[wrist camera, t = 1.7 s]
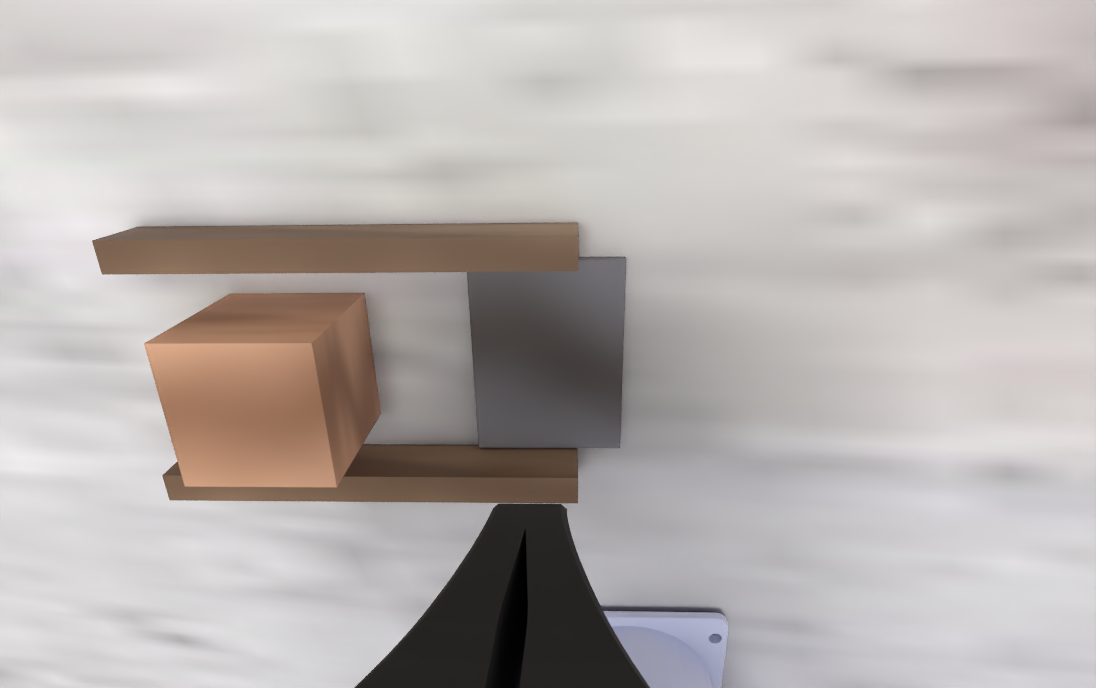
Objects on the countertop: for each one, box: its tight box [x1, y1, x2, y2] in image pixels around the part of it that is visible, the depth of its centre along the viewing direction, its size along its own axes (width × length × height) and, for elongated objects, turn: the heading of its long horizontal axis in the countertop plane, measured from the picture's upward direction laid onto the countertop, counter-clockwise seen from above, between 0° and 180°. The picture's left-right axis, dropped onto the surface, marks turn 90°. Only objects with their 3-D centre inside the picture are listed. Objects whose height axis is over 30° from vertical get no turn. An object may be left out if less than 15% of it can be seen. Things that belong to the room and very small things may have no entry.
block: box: [144, 293, 381, 487], centre depth 19 cm, size 4×4×4 cm
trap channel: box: [92, 223, 626, 503], centre depth 20 cm, size 9×16×2 cm, turn 91°
